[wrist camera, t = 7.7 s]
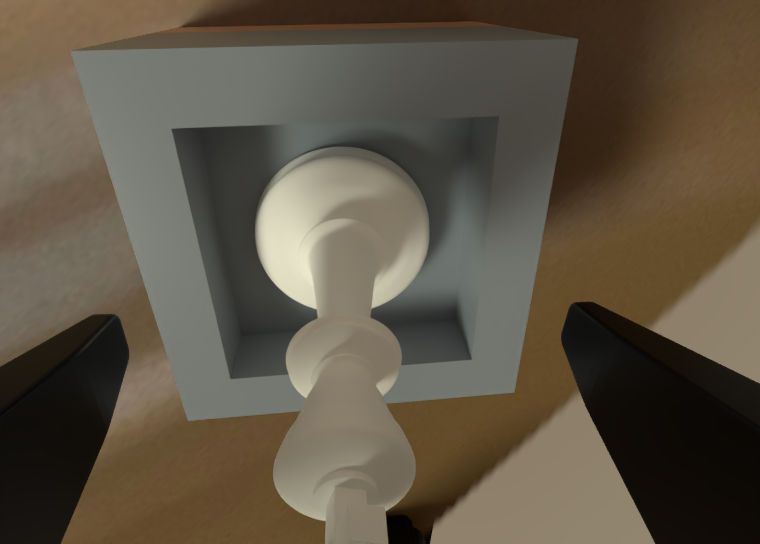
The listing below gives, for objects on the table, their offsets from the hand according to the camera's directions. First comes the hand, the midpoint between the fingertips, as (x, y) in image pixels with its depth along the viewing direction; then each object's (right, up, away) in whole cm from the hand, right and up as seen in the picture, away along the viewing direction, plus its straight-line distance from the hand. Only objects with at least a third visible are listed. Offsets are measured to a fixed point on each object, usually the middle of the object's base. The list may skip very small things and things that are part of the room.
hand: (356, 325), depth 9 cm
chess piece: (-1, +2, +4) cm, 5 cm away
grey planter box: (-1, +5, +9) cm, 11 cm away
